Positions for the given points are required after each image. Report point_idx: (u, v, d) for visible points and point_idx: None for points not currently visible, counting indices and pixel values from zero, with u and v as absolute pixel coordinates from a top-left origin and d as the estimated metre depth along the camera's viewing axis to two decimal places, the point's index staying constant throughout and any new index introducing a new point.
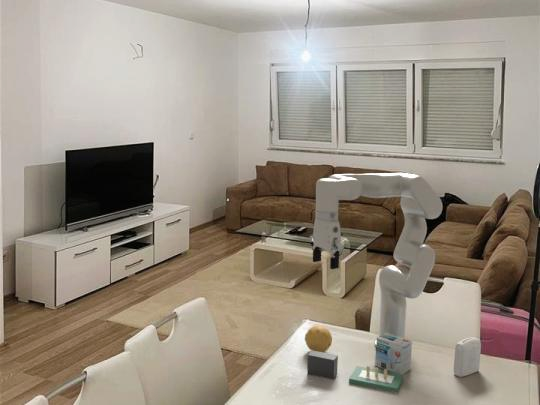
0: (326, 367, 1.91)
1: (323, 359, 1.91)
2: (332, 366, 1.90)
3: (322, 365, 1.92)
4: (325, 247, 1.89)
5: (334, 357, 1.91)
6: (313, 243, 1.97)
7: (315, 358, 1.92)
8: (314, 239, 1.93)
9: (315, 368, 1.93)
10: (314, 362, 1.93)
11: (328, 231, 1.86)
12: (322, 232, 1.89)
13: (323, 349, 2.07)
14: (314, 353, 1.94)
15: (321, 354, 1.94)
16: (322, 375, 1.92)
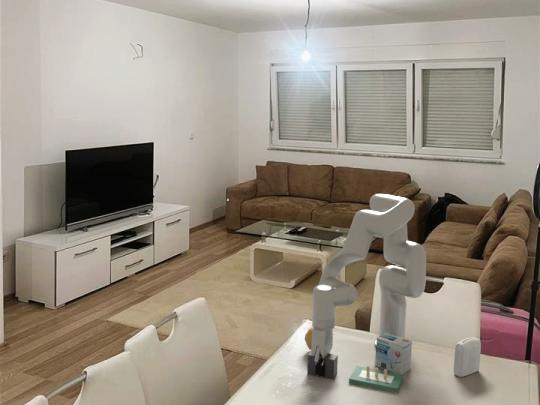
0: (326, 367, 1.91)
1: None
2: (332, 366, 1.90)
3: None
4: (330, 348, 1.94)
5: (334, 357, 1.91)
6: None
7: None
8: (325, 351, 1.89)
9: None
10: (314, 362, 1.93)
11: (332, 330, 1.95)
12: (331, 336, 1.92)
13: None
14: None
15: None
16: None
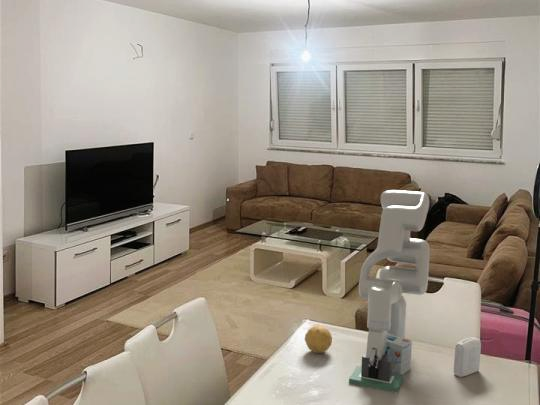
0: (381, 369, 1.86)
1: None
2: (388, 368, 1.85)
3: None
4: (385, 350, 1.90)
5: (389, 359, 1.87)
6: (374, 362, 1.82)
7: None
8: (381, 353, 1.84)
9: None
10: None
11: None
12: (386, 338, 1.87)
13: (323, 349, 2.07)
14: None
15: None
16: None
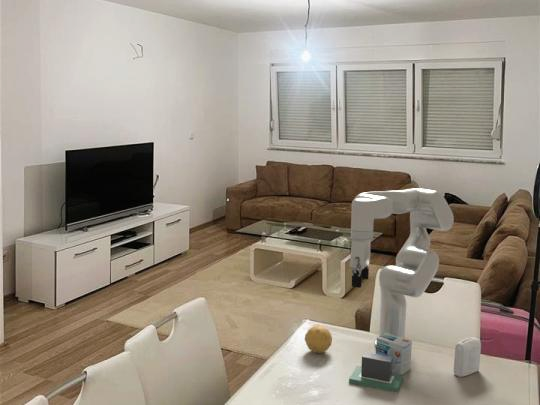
0: (381, 369, 1.86)
1: (378, 361, 1.86)
2: (388, 368, 1.85)
3: (377, 367, 1.87)
4: (368, 262, 1.96)
5: (389, 359, 1.87)
6: (357, 270, 1.89)
7: (370, 360, 1.88)
8: (364, 262, 1.91)
9: (369, 370, 1.88)
10: (369, 364, 1.88)
11: None
12: (369, 249, 1.94)
13: (323, 349, 2.07)
14: (368, 355, 1.90)
15: (375, 356, 1.89)
16: (377, 377, 1.88)
